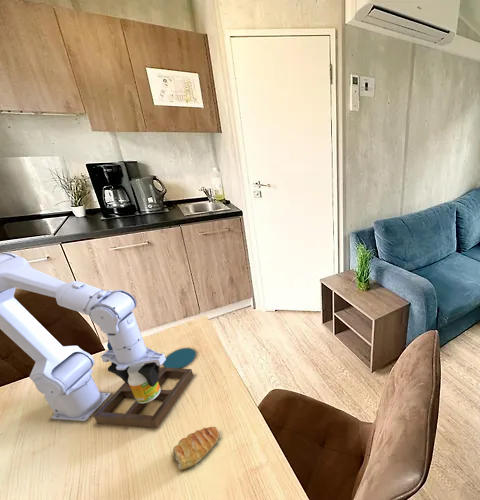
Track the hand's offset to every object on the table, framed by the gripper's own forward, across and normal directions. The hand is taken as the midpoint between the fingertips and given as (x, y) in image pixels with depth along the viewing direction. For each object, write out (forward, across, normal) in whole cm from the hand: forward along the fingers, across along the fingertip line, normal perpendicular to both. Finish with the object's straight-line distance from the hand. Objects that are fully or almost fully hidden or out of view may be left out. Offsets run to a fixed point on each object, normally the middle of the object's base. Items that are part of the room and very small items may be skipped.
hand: (143, 382), depth 72 cm
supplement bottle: (+5, 0, 0) cm, 5 cm away
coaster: (+10, -4, +17) cm, 20 cm away
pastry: (+10, +17, -9) cm, 22 cm away
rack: (+10, -4, +3) cm, 11 cm away
